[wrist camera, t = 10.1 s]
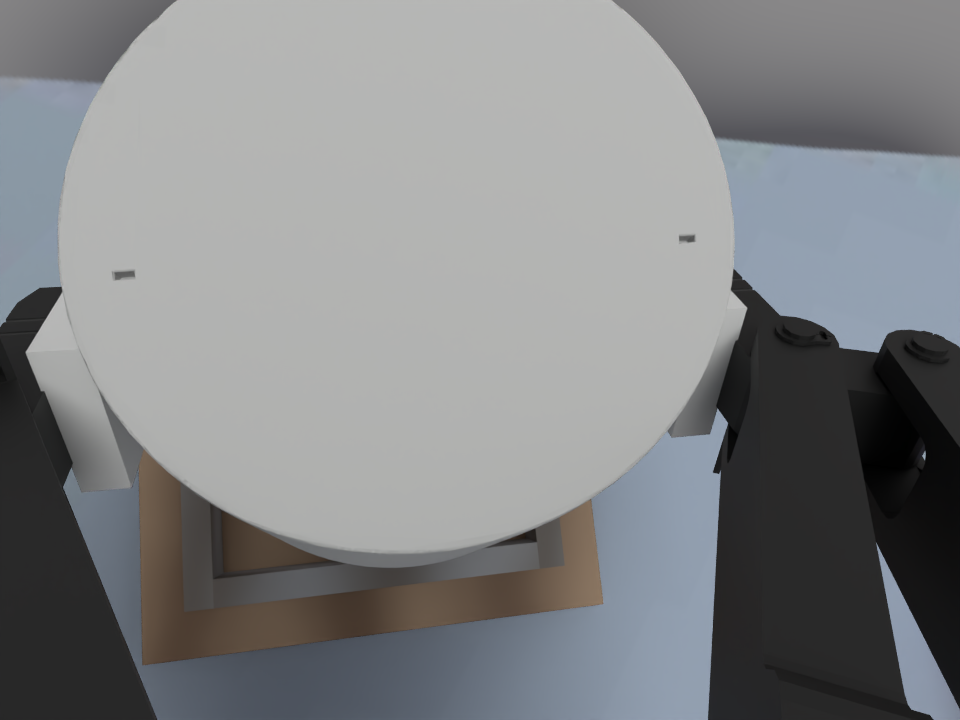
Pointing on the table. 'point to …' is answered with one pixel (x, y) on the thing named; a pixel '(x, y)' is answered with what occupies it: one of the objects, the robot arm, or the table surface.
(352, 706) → the table surface
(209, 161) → the smart speaker
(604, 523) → the table surface
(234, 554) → the walnut stand
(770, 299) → the table surface
